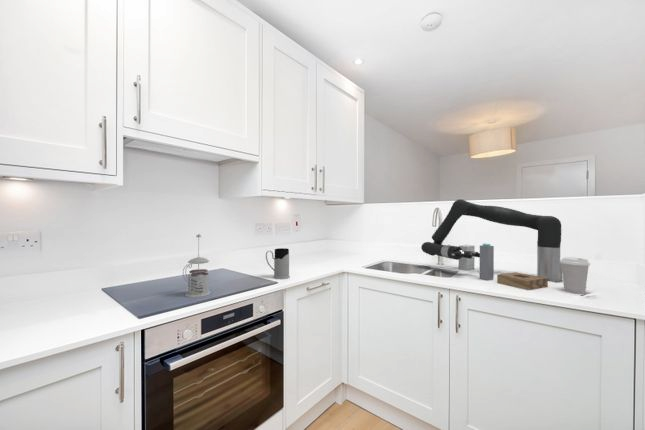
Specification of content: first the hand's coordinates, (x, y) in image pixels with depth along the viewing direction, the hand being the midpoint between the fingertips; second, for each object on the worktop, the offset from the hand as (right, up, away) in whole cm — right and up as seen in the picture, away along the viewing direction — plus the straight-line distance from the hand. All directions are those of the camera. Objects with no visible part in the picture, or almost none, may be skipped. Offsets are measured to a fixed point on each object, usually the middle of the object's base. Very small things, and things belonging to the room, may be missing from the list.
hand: (477, 256), depth 145 cm
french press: (-134, -12, -29) cm, 138 cm away
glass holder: (-106, -12, +3) cm, 106 cm away
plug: (+2, -12, -5) cm, 13 cm away
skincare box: (+8, -12, +26) cm, 30 cm away
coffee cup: (+27, -12, -26) cm, 40 cm away
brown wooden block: (+12, -12, -16) cm, 23 cm away
